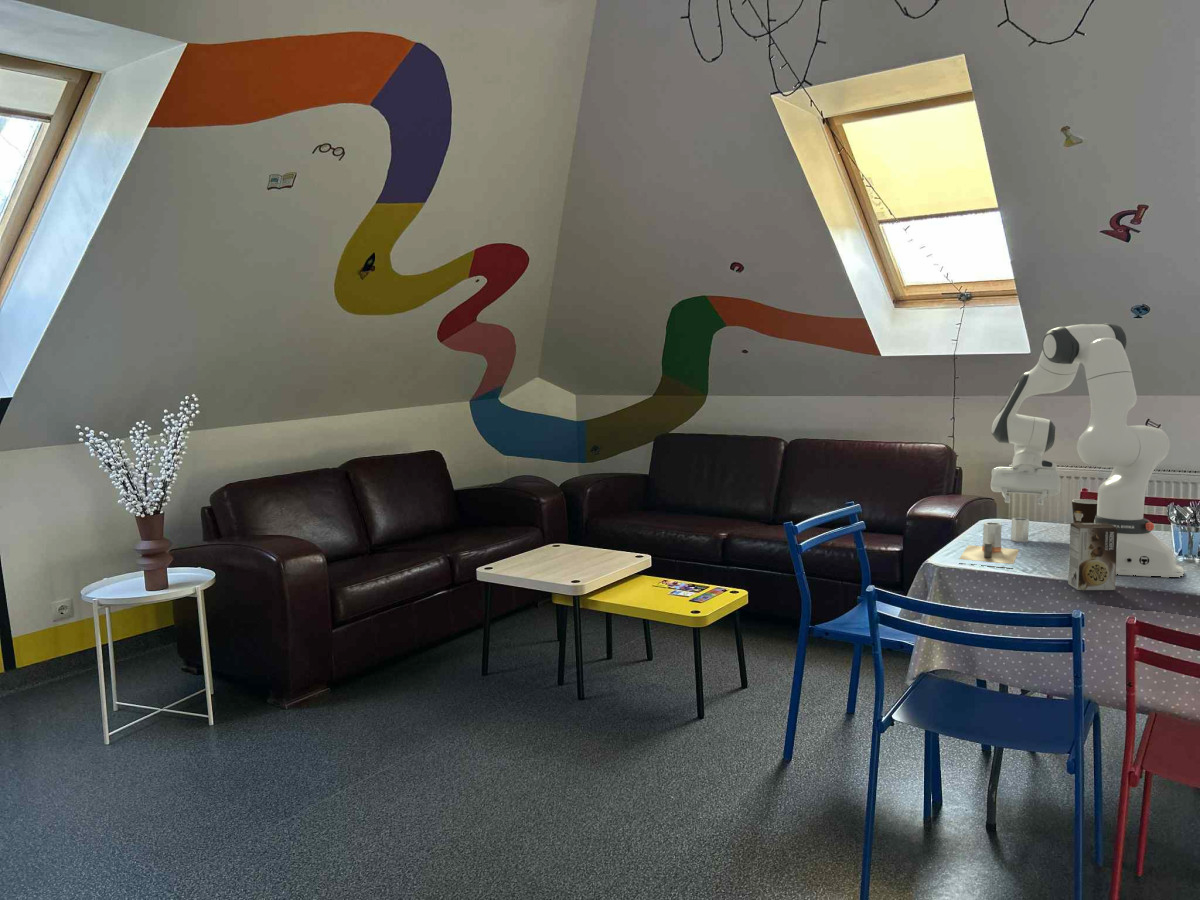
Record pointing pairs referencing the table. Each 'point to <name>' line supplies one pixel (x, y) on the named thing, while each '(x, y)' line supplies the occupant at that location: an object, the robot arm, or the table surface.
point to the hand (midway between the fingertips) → (1023, 502)
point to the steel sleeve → (1020, 530)
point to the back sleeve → (992, 535)
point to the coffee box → (1092, 556)
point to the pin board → (995, 556)
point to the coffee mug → (1084, 510)
